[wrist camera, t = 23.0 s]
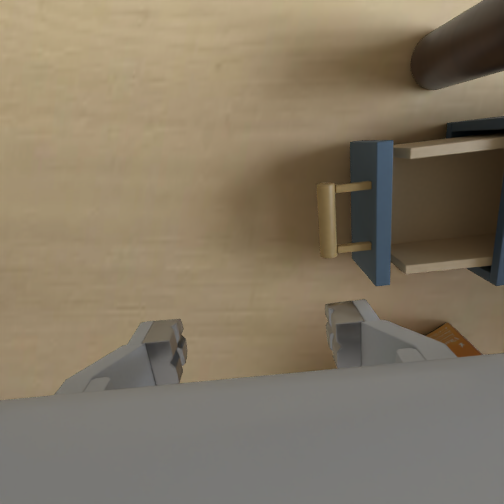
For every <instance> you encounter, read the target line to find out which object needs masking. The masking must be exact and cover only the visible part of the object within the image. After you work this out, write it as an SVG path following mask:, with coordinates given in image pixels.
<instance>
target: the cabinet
mask: <svg viewBox="0 0 504 504" xmlns="http://www.w3.org/2000/svg"><path fill="white" fill-rule="evenodd" d="M496 132H504V116H499V117H491V118H483V119H475V120H467V121H459V122H450V123H447V132H446V138H455V137H463V136H471V135H480V134H488V133H496ZM467 269H468V270H470V271H472V272H473V273H475V274H477V275H478V276H480V277H482V278H484V279H485V280H487V281H489V282H490V283H492V284H494V285H495V286H500V285H504V175H503V182H502V190H501V197H500V205H499V212H498V220H497V228H496V235H495V243H494V250H493V258H492V265H491V266H481V267H472V268H467Z"/></svg>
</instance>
